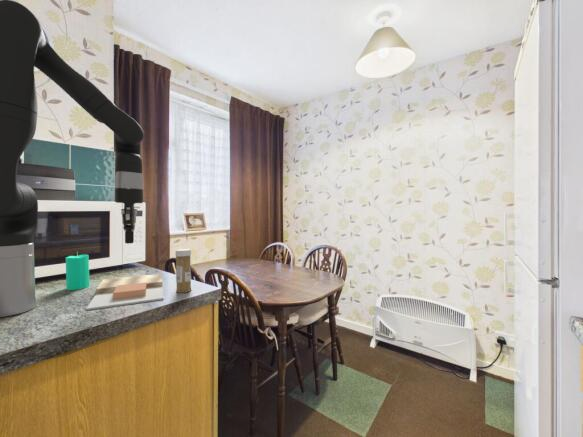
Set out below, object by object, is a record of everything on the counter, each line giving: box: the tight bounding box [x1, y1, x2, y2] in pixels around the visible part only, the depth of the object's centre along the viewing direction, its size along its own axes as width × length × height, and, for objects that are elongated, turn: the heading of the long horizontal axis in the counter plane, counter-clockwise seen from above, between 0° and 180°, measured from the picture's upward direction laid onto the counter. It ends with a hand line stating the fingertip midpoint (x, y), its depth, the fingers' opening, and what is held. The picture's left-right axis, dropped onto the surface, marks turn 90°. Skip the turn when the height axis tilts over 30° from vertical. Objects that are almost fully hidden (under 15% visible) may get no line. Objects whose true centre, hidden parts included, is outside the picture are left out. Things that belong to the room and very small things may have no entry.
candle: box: [65, 251, 90, 291], centre depth 87 cm, size 6×6×12 cm
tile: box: [113, 282, 146, 300], centre depth 79 cm, size 8×8×2 cm
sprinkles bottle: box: [175, 248, 192, 294], centre depth 84 cm, size 5×5×13 cm
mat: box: [85, 285, 164, 311], centre depth 77 cm, size 18×13×1 cm
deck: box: [95, 273, 163, 295], centre depth 89 cm, size 18×12×2 cm, turn 118°
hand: (129, 243), depth 82 cm, fingers closed
